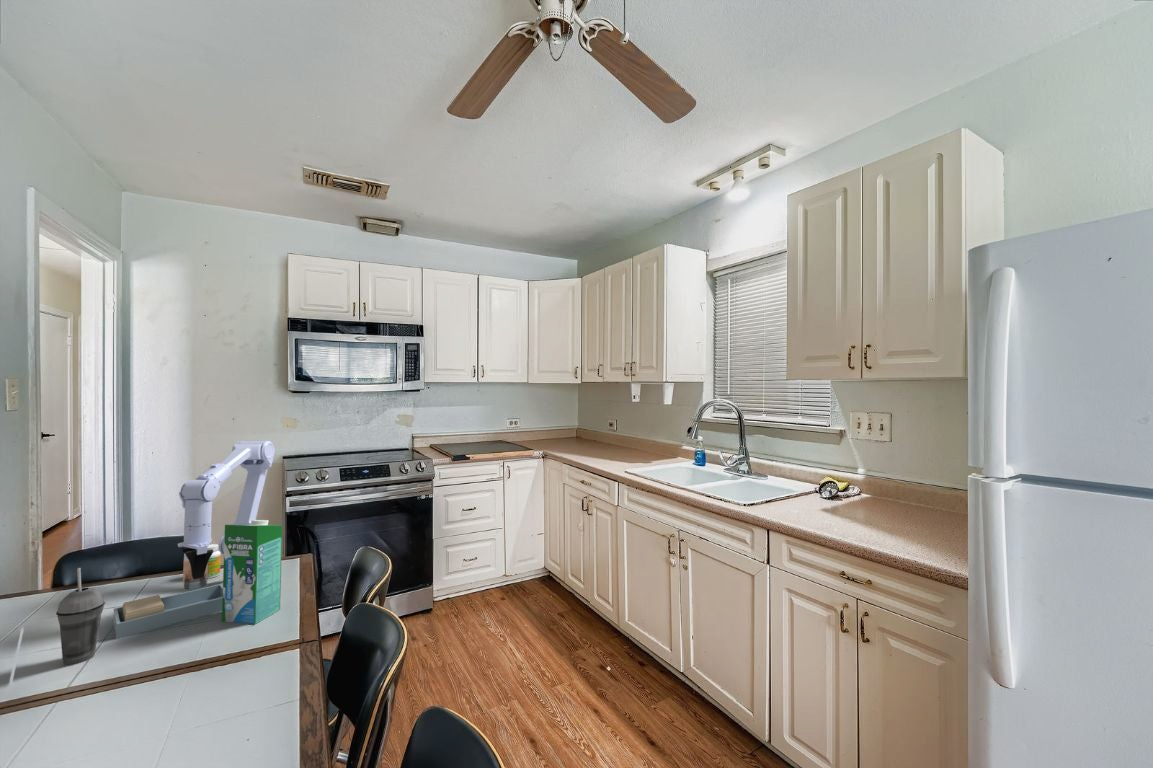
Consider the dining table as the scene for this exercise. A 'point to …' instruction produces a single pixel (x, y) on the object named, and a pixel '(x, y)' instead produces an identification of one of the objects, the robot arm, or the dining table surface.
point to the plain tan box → (142, 608)
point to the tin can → (187, 575)
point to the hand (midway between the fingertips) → (196, 575)
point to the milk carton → (251, 571)
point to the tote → (173, 611)
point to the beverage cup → (80, 623)
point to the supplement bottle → (214, 561)
